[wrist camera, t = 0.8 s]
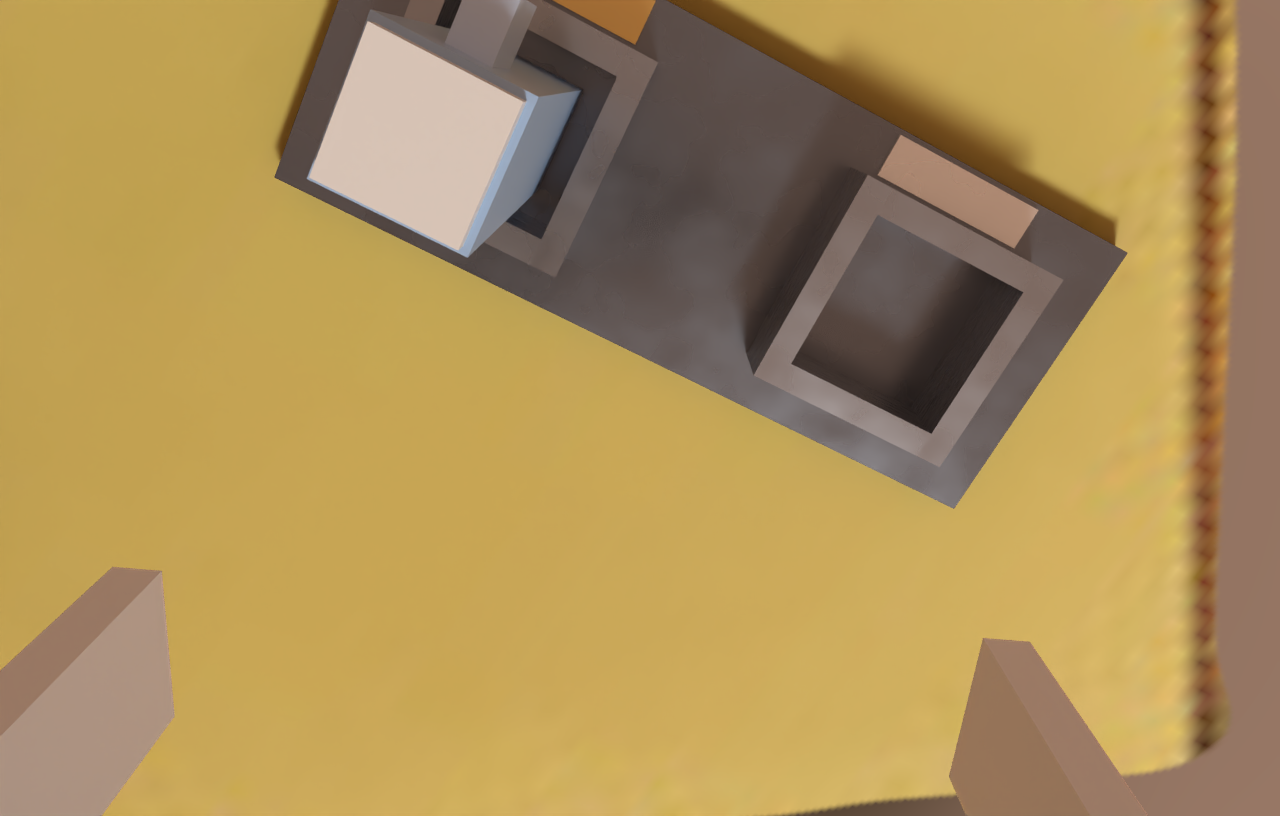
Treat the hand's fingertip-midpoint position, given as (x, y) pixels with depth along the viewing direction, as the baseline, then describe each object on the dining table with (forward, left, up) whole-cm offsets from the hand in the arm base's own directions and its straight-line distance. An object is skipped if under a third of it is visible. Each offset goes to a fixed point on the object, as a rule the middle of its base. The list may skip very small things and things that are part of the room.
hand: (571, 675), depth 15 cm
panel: (+1, +5, -24) cm, 25 cm away
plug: (-7, +5, -23) cm, 25 cm away
